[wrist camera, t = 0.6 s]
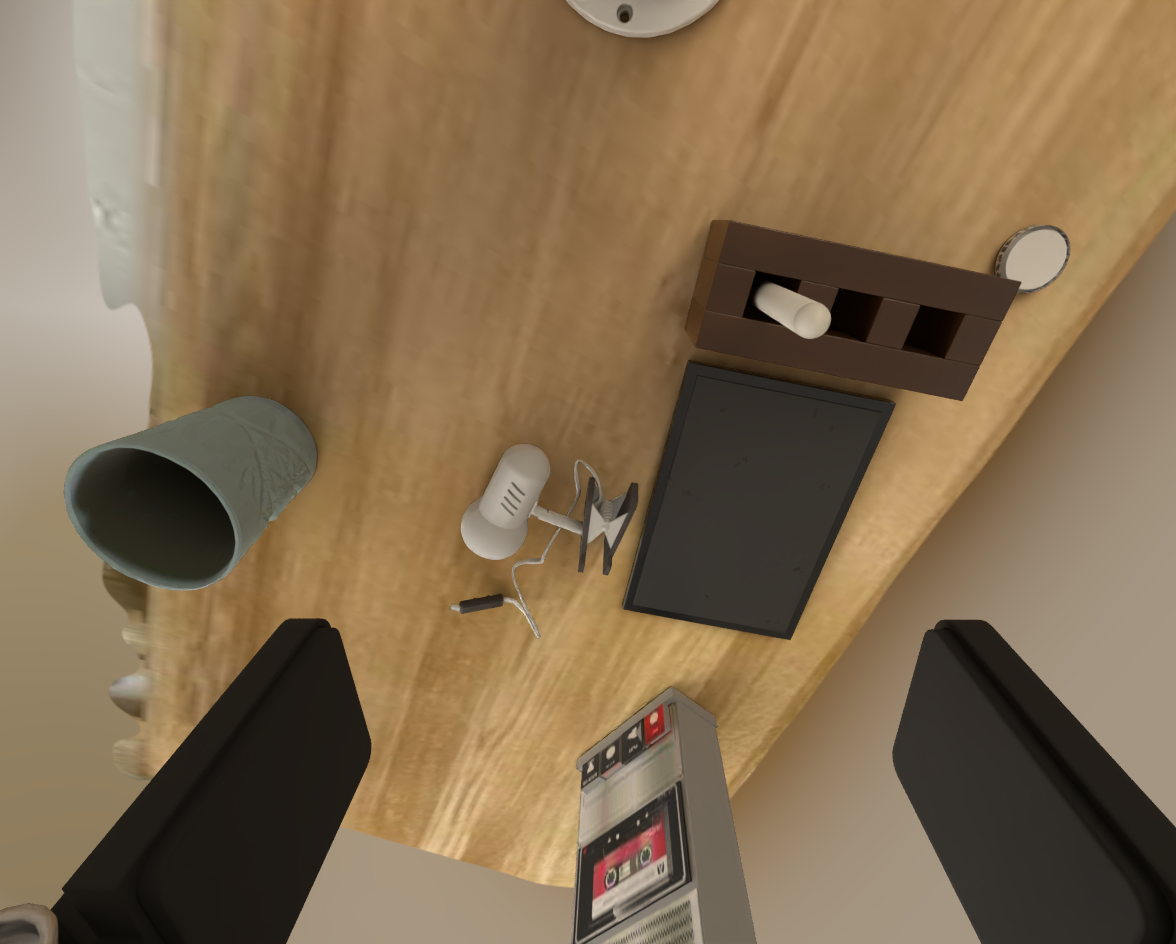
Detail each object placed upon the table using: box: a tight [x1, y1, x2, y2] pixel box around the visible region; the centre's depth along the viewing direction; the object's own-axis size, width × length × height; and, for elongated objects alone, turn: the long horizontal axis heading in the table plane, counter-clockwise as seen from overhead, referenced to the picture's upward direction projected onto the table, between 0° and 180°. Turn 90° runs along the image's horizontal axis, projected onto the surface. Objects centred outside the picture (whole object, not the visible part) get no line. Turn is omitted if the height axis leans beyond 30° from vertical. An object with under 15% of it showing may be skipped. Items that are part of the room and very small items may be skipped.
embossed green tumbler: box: [64, 395, 317, 590], centre depth 38 cm, size 10×10×12 cm
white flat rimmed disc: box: [995, 225, 1070, 293], centre depth 35 cm, size 4×4×1 cm
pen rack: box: [685, 220, 1022, 401], centre depth 34 cm, size 7×17×6 cm, turn 79°
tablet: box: [622, 360, 896, 640], centre depth 43 cm, size 22×15×1 cm
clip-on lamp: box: [449, 444, 638, 639], centre depth 43 cm, size 12×6×18 cm
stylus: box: [747, 276, 831, 339], centre depth 30 cm, size 2×2×14 cm
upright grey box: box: [571, 686, 757, 944], centre depth 44 cm, size 14×6×25 cm, turn 140°
